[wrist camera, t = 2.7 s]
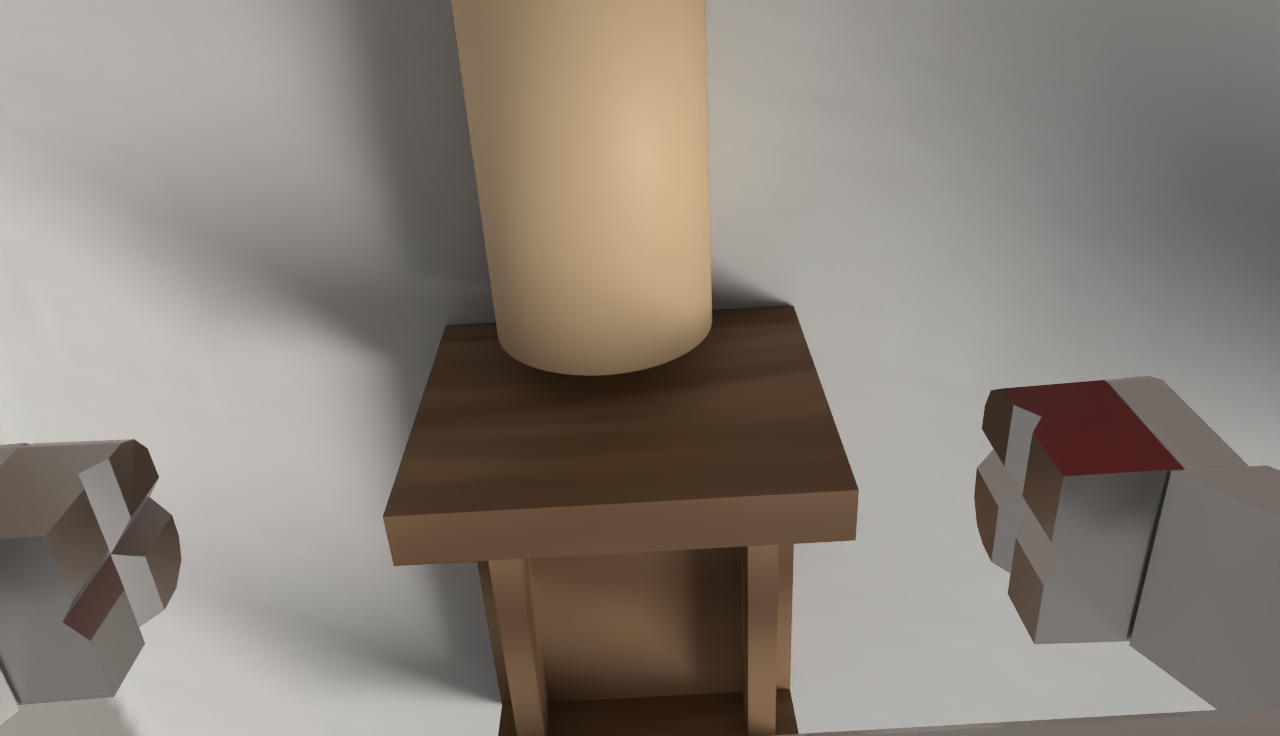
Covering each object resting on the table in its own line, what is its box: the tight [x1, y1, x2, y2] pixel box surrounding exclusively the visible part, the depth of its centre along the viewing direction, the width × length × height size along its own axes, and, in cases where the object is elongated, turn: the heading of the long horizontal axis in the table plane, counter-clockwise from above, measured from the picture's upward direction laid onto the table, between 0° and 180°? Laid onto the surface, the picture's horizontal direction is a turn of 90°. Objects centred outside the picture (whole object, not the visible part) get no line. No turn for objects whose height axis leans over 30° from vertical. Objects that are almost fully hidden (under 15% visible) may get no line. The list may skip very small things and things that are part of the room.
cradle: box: [383, 306, 859, 736], centre depth 26 cm, size 14×9×8 cm, turn 3°
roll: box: [451, 0, 712, 376], centre depth 21 cm, size 10×5×5 cm, turn 3°
